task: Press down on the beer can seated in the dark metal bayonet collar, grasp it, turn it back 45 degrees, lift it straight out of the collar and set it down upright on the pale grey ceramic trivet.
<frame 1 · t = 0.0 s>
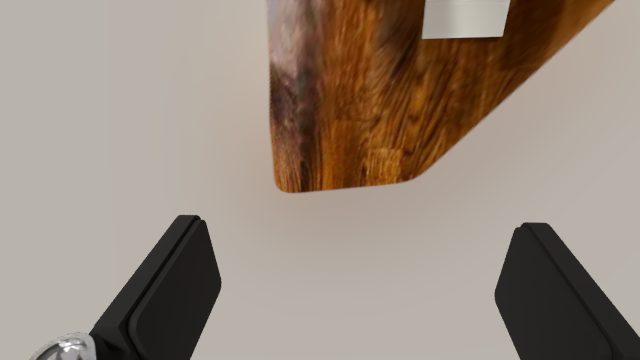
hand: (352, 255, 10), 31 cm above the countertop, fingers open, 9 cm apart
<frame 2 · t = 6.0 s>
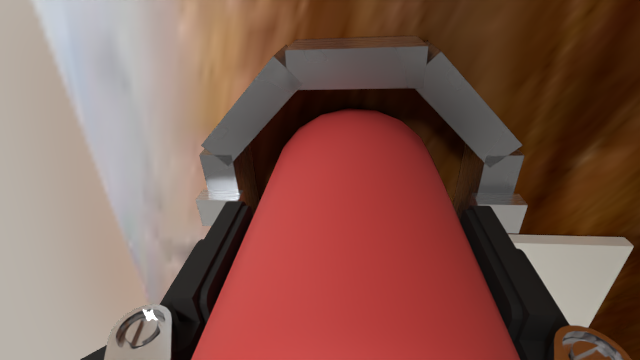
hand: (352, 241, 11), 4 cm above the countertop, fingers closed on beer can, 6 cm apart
trivet: (508, 295, 17), on the countertop
collar: (353, 176, 15), on the countertop
beer can: (353, 174, 15), resting in collar, touching gripper
when the fingers open (6 cm above the countertop, at t = 11.8 s): beer can drops 1 cm, resting on trivet.
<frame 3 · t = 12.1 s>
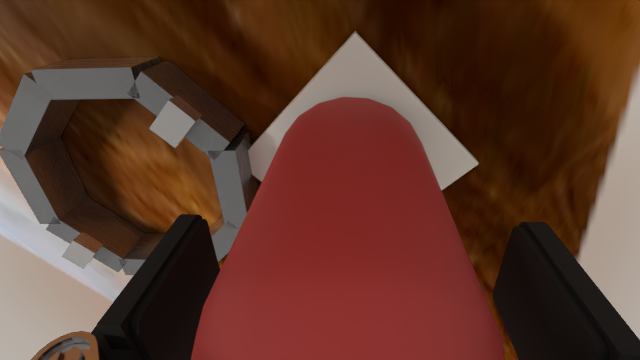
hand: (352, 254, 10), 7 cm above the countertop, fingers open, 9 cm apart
trivet: (353, 157, 16), on the countertop
collar: (151, 168, 18), on the countertop
beer can: (349, 159, 16), resting on trivet
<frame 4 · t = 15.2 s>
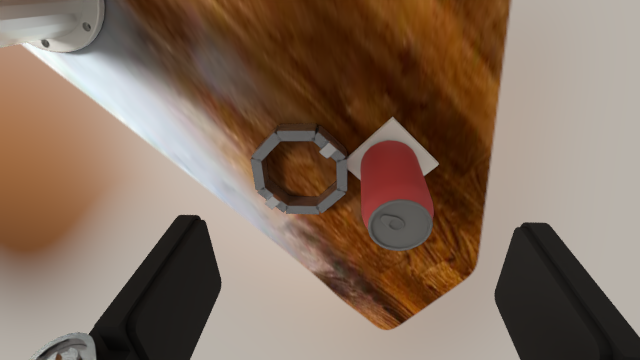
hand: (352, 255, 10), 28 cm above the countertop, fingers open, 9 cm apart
trivet: (389, 161, 40), on the countertop
collar: (302, 166, 41), on the countertop
beer can: (388, 162, 40), resting on trivet
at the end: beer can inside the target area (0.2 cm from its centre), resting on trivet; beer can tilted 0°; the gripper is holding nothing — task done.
